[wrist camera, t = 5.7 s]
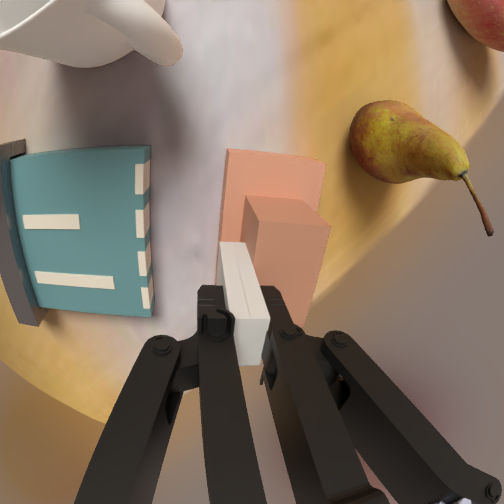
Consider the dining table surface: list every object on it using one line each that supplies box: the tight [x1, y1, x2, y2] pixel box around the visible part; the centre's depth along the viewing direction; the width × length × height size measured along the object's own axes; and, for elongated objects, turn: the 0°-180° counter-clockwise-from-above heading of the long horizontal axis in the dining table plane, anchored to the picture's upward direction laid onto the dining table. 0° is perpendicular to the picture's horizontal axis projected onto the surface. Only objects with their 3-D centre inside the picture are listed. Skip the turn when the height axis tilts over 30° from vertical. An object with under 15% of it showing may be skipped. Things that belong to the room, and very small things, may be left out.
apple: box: [447, 0, 504, 52], centre depth 8 cm, size 9×9×8 cm
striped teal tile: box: [10, 145, 154, 317], centre depth 16 cm, size 13×12×2 cm
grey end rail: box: [0, 139, 49, 327], centre depth 14 cm, size 2×14×3 cm, turn 173°
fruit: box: [350, 100, 494, 236], centre depth 12 cm, size 6×6×12 cm
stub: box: [215, 149, 331, 329], centre depth 17 cm, size 6×12×6 cm, turn 173°
